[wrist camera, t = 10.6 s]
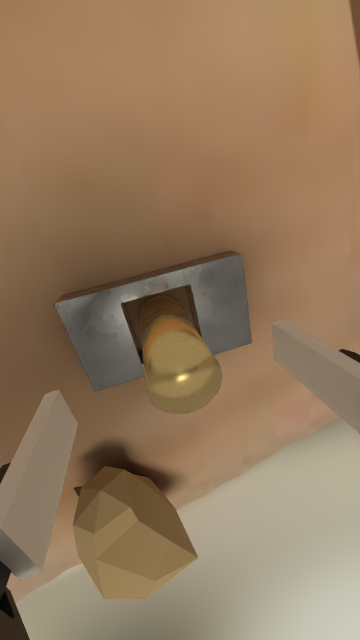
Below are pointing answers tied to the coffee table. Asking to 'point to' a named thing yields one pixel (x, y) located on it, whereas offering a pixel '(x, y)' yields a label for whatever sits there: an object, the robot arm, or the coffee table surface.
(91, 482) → the faceted tan rock
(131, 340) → the metal plate with hole
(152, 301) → the gold peg
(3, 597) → the robot arm
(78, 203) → the coffee table surface
